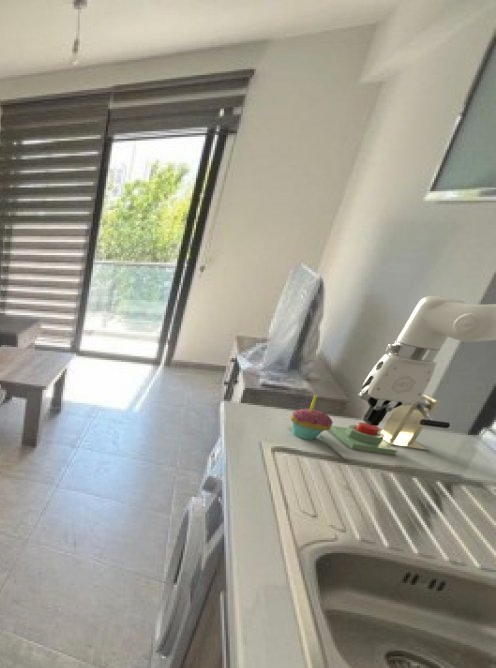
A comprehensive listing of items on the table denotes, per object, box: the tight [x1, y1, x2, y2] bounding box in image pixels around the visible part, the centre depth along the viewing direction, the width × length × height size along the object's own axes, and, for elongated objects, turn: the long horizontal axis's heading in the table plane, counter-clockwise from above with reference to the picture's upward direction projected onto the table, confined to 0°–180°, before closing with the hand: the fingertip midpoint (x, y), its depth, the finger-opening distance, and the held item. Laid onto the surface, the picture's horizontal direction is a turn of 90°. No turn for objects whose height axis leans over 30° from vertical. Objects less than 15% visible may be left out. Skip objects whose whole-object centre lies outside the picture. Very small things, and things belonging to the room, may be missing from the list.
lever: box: [415, 396, 451, 429], centre depth 117 cm, size 10×5×2 cm, turn 163°
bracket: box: [379, 394, 441, 451], centre depth 122 cm, size 10×8×13 cm
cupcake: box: [289, 391, 334, 440], centre depth 123 cm, size 9×8×12 cm
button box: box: [329, 424, 397, 456], centre depth 121 cm, size 11×9×4 cm
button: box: [356, 422, 380, 436], centre depth 120 cm, size 4×4×2 cm
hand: (370, 423), depth 120 cm, fingers closed
